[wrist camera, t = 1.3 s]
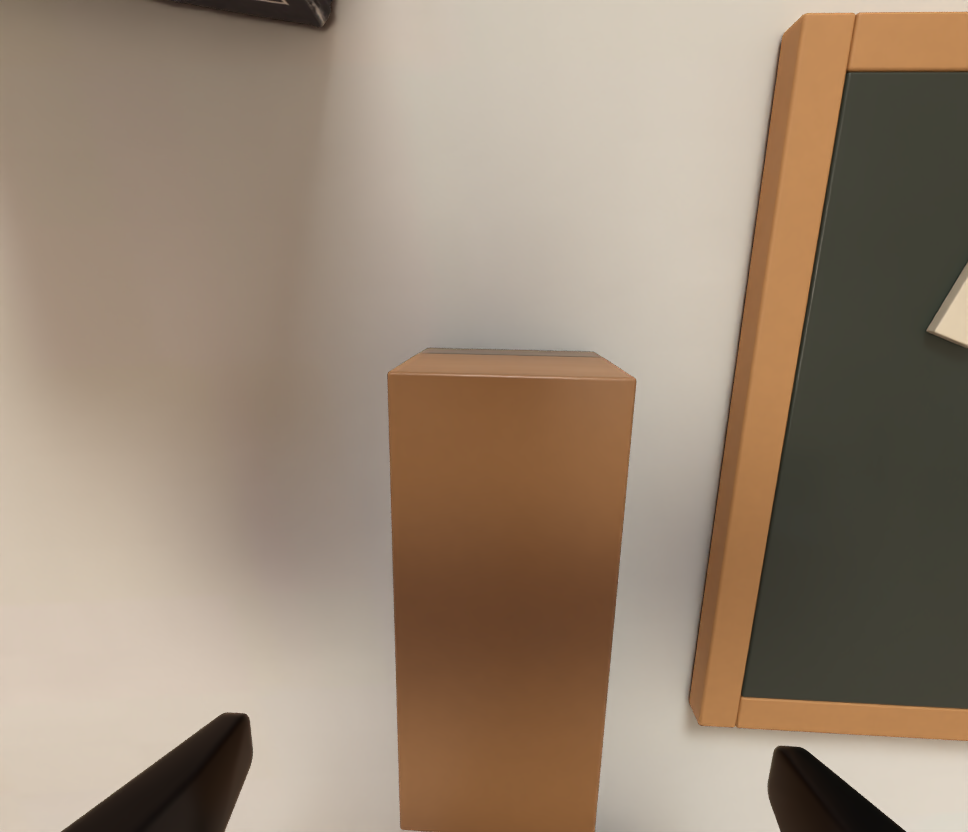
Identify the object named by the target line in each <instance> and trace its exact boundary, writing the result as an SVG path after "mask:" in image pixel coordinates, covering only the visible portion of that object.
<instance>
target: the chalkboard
mask: <svg viewBox="0 0 968 832" xmlns="http://www.w3.org/2000/svg"><path fill="white" fill-rule="evenodd" d="M967 262H968V12H879V13H858V14H856V15H855V14H854V13H806V14H804V15H802V16H801V17H800V18H799V19H798V20H797V21H796V22H795V23H794V24H793V25H792V26H791V27H790V28H789V29H788V30H787V31H786V32H785V33H784V34H783V36H782V43H781V50H780V57H779V64H778V71H777V78H776V86H775V93H774V100H773V107H772V114H771V121H770V128H769V135H768V143H767V150H766V157H765V164H764V171H763V178H762V185H761V193H760V200H759V207H758V214H757V221H756V228H755V235H754V243H753V250H752V257H751V264H750V271H749V278H748V285H747V292H746V300H745V307H744V314H743V321H742V328H741V335H740V342H739V350H738V357H737V364H736V371H735V378H734V385H733V392H732V400H731V407H730V414H729V421H728V428H727V435H726V442H725V449H724V457H723V464H722V471H721V478H720V485H719V492H718V499H717V507H716V514H715V521H714V528H713V535H712V542H711V549H710V557H709V564H708V571H707V578H706V585H705V592H704V599H703V606H702V614H701V621H700V628H699V635H698V642H697V649H696V656H695V664H694V671H693V678H692V685H691V692H690V699H689V703H690V706H691V708H692V710H693V712H694V715H695V717H696V719H697V721H698V724H699V725H701V726H717V727H735V725H736V727H738V728H749V729H767V730H784V731H802V732H820V733H837V734H855V735H873V736H890V737H908V738H926V739H943V740H961V741H968V348H965V347H963V346H960V345H958V344H955V343H953V342H950V341H948V340H945V339H943V338H941V337H938V336H936V335H933V334H931V333H928V332H927V331H926V330H927V328H928V327H929V325H930V323H931V322H932V320H933V318H934V317H935V315H936V313H937V312H938V310H939V308H940V307H941V305H942V304H943V302H944V300H945V299H946V297H947V295H948V294H949V292H950V290H951V289H952V287H953V285H954V284H955V282H956V280H957V279H958V277H959V275H960V274H961V272H962V271H963V269H964V267H965V266H966V264H967Z"/></svg>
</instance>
